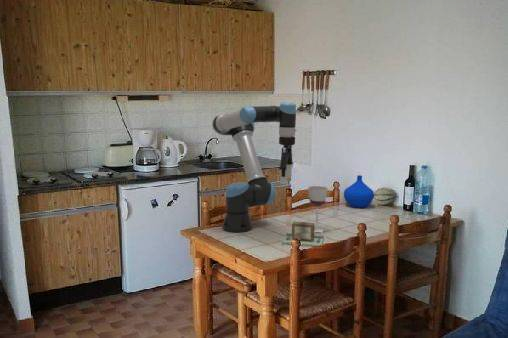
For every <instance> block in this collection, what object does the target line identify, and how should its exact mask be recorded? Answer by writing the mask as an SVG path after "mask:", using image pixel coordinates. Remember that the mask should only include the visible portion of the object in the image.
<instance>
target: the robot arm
mask: <svg viewBox="0 0 508 338" xmlns="http://www.w3.org/2000/svg"><path fill="white" fill-rule="evenodd" d="M296 120H297V105H296V103H295V102H281V103H280V104H279V106H277V105H268V106H267V105H266V106H265V105H264V106H256V105H255V106H251V105H248V106H243V107H241V109H240V110H238V111H234V112H231V113H221V114H218V115H216V116H214V118H213V120H212V123H211V124H212V128H213V130H214V132H215V133H217V134H218V135H221V136H231V139H232V141H234V142H236V145H237V149H238V151H239V155H240V159H241V162H242V165H243V169H244V172H245V176H246V179H247V181H241V182H240V181H239V182H233V183H230V184H228V185H227V186H226V188H225V217H224V219H223V223H222V230H224V231H226V232H227V233H228V232H230V233H245V232H249V231H252V229H253V223H252V219H251V217H250V214H249V213H250V210H249V209H250V208H255V207H262V206H264V207H265V206H266V205H270V204H272V203H273V202H274V201H275V197H276V187H275V184H273V182H270V181H269V180H268V177H267V176H265V175H264V173H263V171H262V167H261V164H260V161H259V157H258V155H257V152H256V147H255V145H254V142H253V139H252V137H253V135H254V132H255V123H279V126H278V128H279V130H278V135H279V136H278V144H279V145H281V146H282V147H281V156H280V163H279V165H280V166H279V169H278V170H280V181H279V182H280V184H282V185H283V184H284V185H286V184H287V181H288V180H287V179H292V167H293V166H292V165H294V162H293V150H292V149H293V146H294V145H295V144H296V137H295V136H296V132H298V131H297V129H296V125H297V124H296Z"/></svg>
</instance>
